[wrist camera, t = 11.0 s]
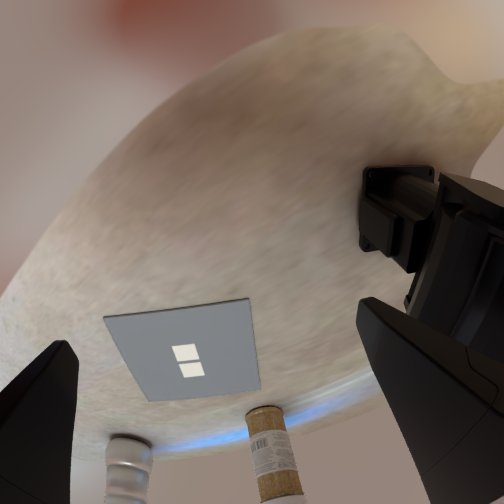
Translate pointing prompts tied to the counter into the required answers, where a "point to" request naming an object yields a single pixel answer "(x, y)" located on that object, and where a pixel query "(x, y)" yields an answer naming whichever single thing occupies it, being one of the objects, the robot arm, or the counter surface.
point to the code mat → (189, 350)
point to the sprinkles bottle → (273, 458)
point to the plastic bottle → (127, 471)
